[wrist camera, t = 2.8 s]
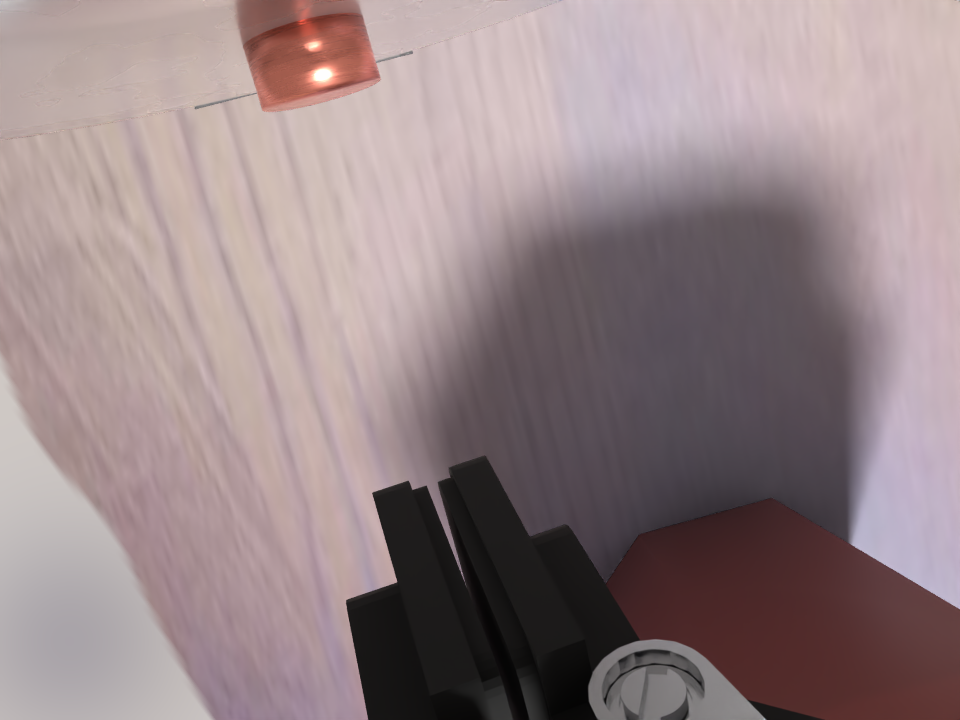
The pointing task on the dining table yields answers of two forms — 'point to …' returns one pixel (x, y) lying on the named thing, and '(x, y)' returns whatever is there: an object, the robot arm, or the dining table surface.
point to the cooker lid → (207, 53)
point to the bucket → (794, 616)
